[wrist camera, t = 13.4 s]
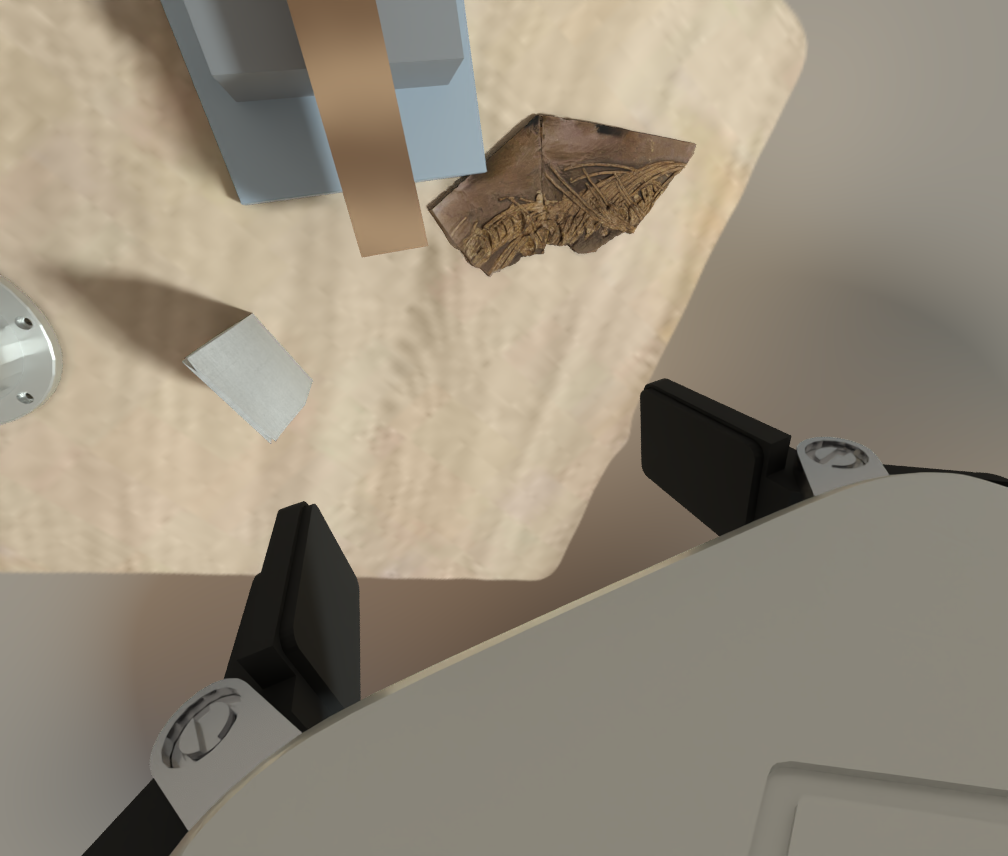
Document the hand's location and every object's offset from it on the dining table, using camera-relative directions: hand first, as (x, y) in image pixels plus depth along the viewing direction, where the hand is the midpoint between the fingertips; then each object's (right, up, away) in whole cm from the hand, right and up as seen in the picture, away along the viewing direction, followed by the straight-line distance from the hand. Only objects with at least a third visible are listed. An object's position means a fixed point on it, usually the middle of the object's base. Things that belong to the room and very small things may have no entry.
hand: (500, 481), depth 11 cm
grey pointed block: (-20, +7, +22) cm, 31 cm away
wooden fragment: (+6, +23, +24) cm, 34 cm away
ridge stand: (-11, +26, +16) cm, 32 cm away
